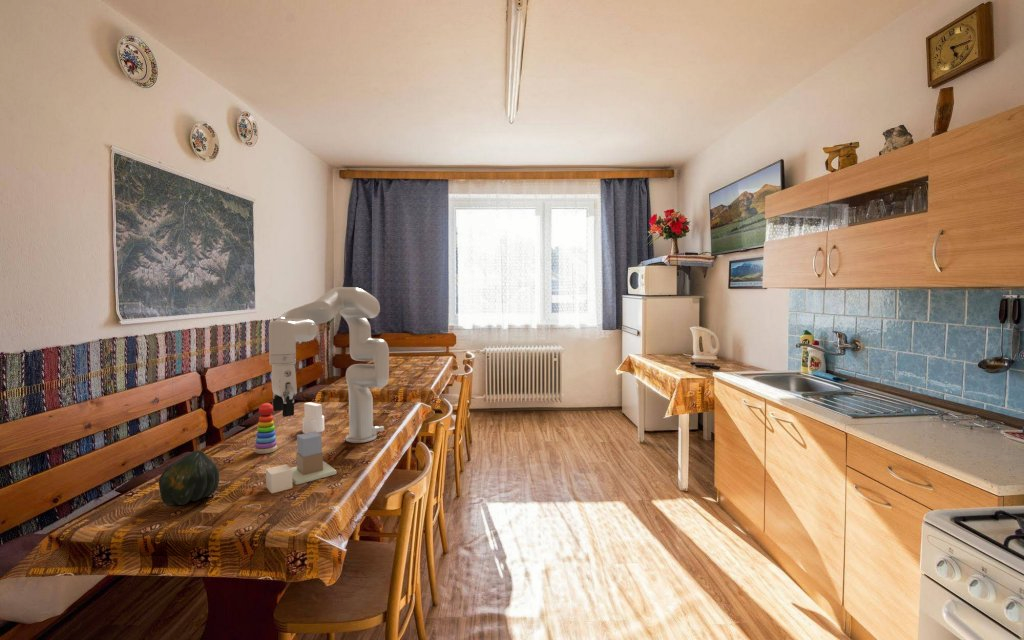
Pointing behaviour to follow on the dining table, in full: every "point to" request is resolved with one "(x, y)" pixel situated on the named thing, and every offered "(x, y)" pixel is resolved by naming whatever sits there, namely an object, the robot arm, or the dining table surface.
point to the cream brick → (279, 478)
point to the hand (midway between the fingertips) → (283, 413)
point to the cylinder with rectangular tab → (312, 418)
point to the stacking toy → (265, 431)
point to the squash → (188, 479)
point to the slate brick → (309, 444)
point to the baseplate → (313, 475)
